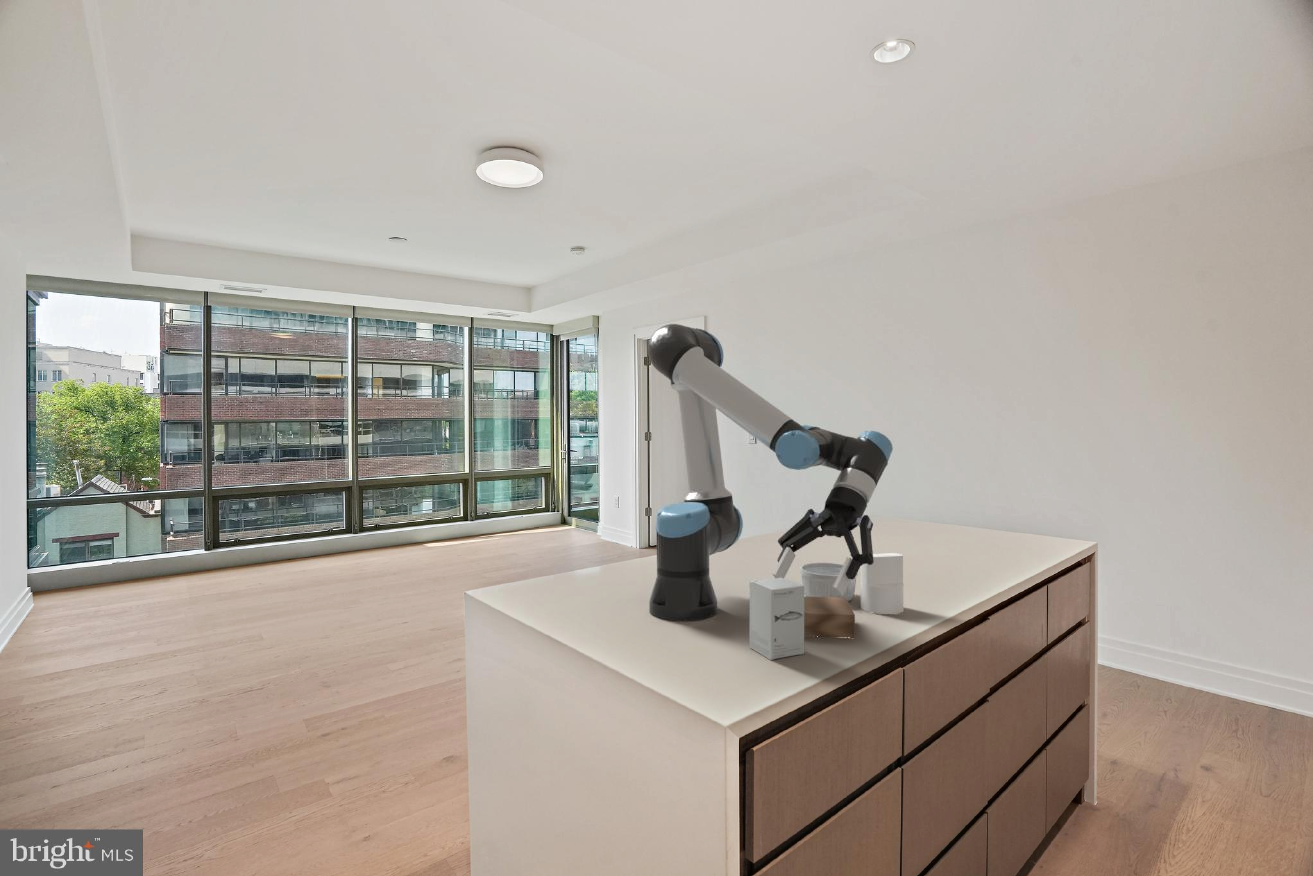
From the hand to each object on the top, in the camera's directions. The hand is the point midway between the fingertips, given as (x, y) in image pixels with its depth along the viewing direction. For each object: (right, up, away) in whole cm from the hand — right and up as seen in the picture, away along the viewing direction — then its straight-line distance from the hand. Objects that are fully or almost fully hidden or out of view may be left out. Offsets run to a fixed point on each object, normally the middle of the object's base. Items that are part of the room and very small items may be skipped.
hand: (806, 585), depth 120 cm
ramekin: (+13, -11, +33) cm, 37 cm away
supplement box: (-6, -12, -3) cm, 13 cm away
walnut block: (+5, -11, +10) cm, 16 cm away
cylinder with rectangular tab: (+22, -11, +23) cm, 34 cm away
